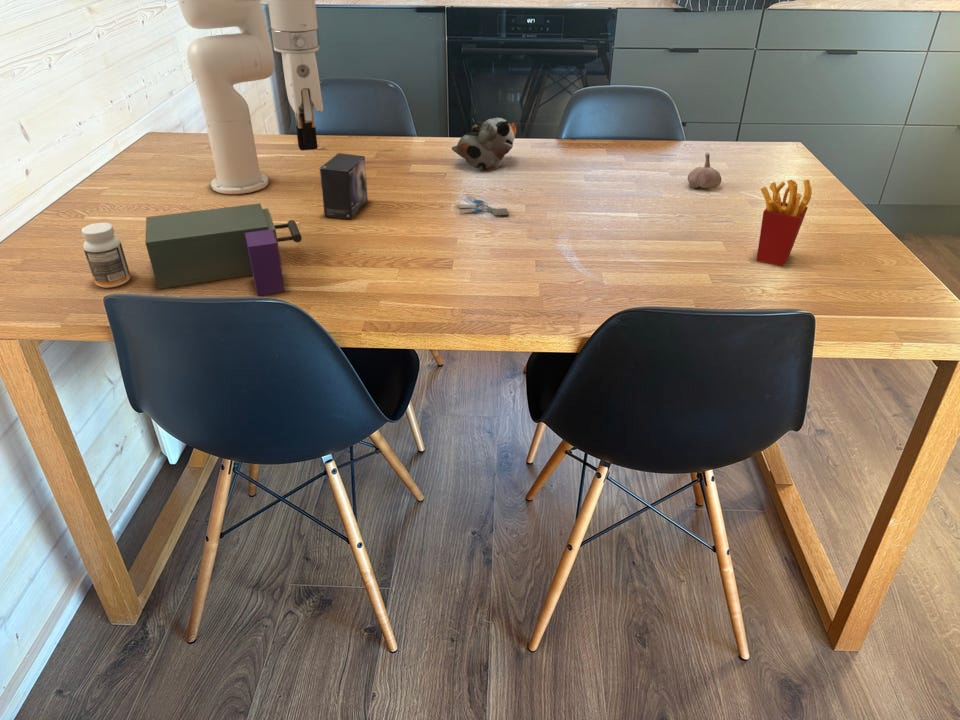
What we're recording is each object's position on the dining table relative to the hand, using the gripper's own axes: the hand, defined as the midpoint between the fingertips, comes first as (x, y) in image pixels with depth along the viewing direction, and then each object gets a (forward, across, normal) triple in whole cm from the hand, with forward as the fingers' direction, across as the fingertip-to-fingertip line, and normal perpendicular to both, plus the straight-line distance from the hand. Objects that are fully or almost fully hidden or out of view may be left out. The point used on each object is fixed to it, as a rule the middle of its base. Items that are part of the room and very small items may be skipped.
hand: (308, 148), depth 127 cm
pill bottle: (+18, -7, +36) cm, 41 cm away
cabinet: (+18, -7, +20) cm, 27 cm away
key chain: (+17, +2, -34) cm, 39 cm away
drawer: (+17, -7, +16) cm, 24 cm away
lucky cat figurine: (+18, +31, -47) cm, 60 cm away
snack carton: (+17, -18, +12) cm, 27 cm away
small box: (+18, +12, -8) cm, 24 cm away
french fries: (+16, -37, -79) cm, 88 cm away
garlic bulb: (+17, -1, -89) cm, 91 cm away
